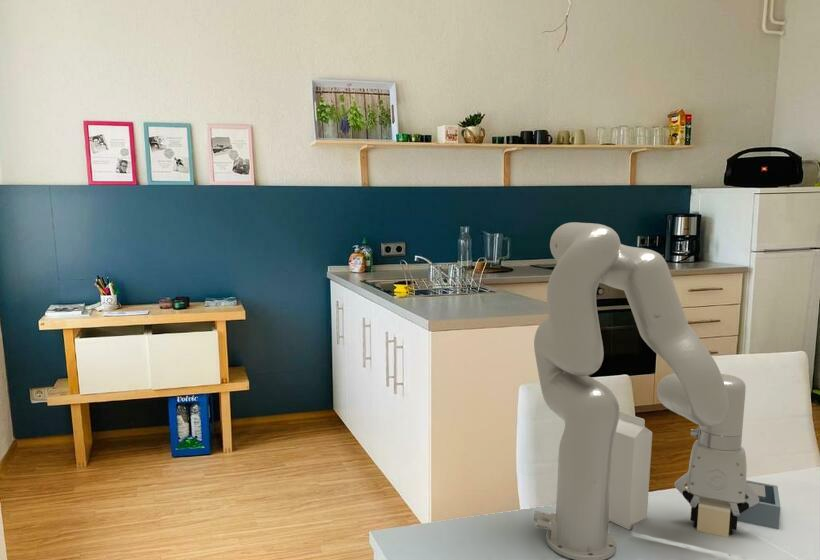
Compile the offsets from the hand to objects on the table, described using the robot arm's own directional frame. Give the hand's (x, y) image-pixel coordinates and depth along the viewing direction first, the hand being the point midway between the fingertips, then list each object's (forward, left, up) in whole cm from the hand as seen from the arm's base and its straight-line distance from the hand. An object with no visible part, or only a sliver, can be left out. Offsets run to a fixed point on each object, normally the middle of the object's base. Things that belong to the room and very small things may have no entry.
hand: (713, 527), depth 128 cm
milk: (-16, -3, -1) cm, 16 cm away
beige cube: (0, 0, -1) cm, 1 cm away
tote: (+6, +11, -1) cm, 13 cm away
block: (+6, +11, 0) cm, 13 cm away
